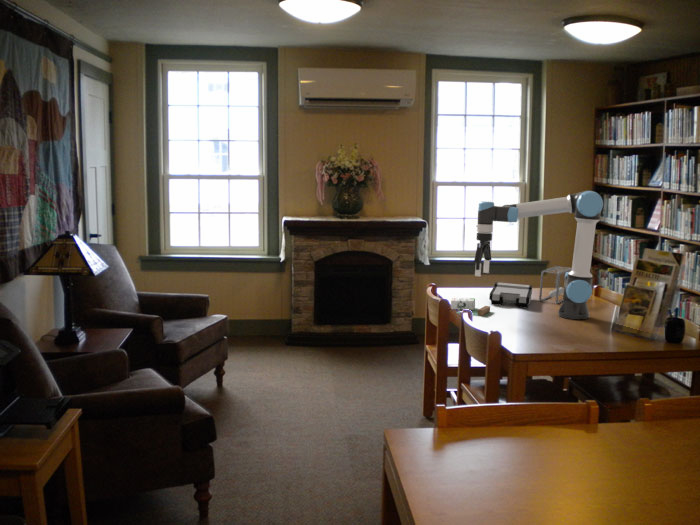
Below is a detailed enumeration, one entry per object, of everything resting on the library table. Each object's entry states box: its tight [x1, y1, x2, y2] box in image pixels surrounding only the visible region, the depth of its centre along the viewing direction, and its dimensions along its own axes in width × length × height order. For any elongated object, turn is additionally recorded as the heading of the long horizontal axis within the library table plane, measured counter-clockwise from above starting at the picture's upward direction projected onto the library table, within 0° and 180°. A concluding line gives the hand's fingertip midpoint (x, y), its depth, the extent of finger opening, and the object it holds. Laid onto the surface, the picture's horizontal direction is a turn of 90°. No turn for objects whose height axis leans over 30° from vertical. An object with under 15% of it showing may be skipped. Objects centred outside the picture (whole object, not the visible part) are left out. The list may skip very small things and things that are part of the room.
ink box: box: [450, 297, 476, 311], centre depth 371 cm, size 9×5×12 cm
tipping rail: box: [477, 305, 491, 317], centre depth 360 cm, size 2×12×3 cm, turn 152°
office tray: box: [488, 281, 533, 309], centre depth 395 cm, size 21×32×8 cm, turn 163°
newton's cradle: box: [538, 265, 572, 305], centre depth 408 cm, size 30×10×18 cm, turn 146°
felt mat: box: [455, 309, 496, 318], centre depth 362 cm, size 16×14×1 cm
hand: (481, 274), depth 358 cm, fingers open, 13 cm apart
